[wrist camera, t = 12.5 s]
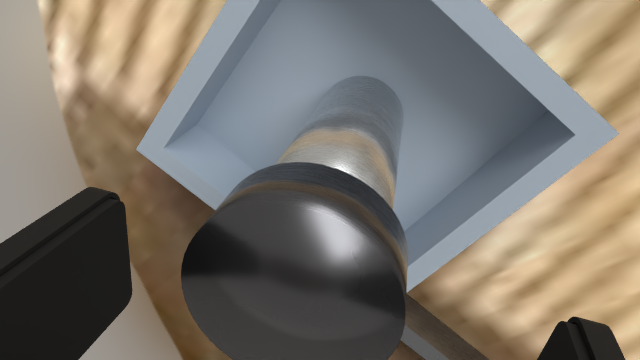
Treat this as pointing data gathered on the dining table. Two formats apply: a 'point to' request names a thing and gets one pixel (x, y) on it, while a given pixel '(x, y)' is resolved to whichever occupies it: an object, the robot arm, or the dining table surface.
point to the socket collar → (434, 336)
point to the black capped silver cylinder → (310, 242)
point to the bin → (413, 92)
